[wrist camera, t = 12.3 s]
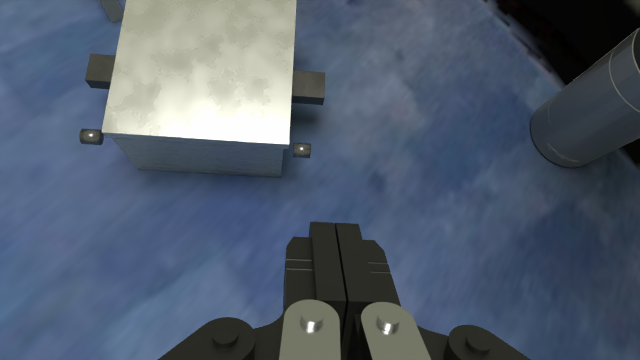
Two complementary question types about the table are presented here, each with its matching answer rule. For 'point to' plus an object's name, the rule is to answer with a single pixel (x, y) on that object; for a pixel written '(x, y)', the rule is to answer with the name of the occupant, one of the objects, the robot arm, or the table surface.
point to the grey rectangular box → (199, 155)
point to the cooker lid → (204, 72)
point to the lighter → (113, 10)
